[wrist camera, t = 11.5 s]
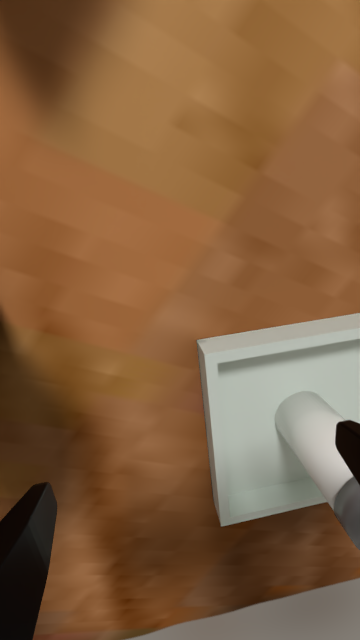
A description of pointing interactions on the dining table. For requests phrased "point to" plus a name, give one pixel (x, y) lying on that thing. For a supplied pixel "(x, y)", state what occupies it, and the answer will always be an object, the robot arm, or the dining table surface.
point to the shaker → (321, 454)
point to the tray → (271, 409)
